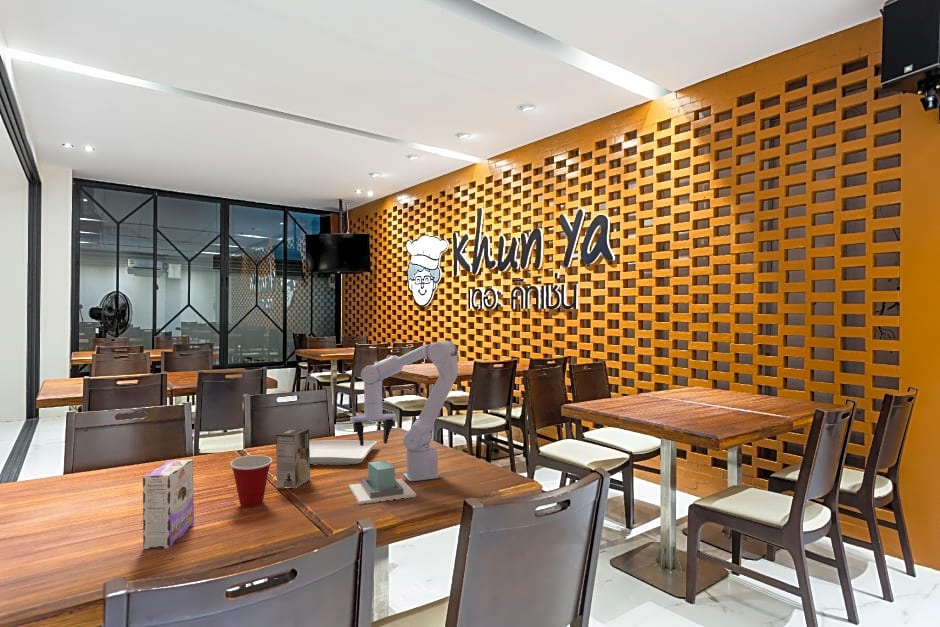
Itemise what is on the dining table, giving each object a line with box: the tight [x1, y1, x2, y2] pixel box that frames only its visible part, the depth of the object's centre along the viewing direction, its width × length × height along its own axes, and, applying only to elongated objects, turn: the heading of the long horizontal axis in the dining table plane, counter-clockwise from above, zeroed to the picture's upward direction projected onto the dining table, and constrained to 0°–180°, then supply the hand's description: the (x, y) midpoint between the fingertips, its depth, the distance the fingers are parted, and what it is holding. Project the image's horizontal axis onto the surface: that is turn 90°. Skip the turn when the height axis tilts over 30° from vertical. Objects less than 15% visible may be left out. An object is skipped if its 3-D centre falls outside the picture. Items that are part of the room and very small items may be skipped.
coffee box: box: [275, 428, 311, 489], centre depth 171 cm, size 9×6×16 cm
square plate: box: [309, 439, 378, 466], centre depth 203 cm, size 27×27×4 cm
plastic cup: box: [229, 454, 273, 508], centre depth 154 cm, size 11×11×12 cm
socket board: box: [348, 478, 417, 505], centre depth 163 cm, size 16×16×2 cm
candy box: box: [142, 458, 195, 550], centre depth 131 cm, size 14×6×16 cm, turn 5°
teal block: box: [367, 459, 396, 491], centre depth 163 cm, size 9×5×7 cm, turn 27°
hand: (373, 444), depth 182 cm, fingers open, 7 cm apart
